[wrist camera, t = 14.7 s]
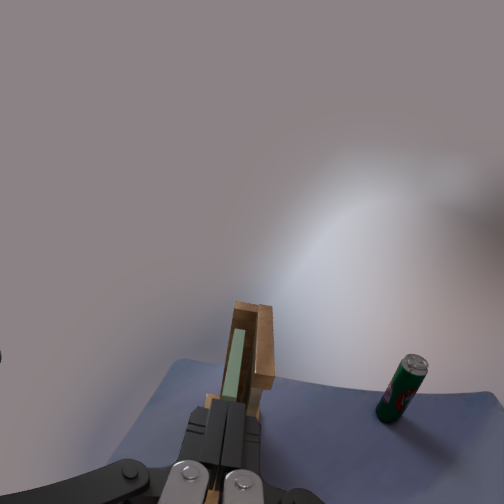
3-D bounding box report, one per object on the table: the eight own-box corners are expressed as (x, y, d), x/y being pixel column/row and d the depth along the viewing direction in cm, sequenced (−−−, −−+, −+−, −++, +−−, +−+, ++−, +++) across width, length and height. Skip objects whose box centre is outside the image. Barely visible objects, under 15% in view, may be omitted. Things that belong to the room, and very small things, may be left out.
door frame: (172, 540, 16) (158, 466, 11) (206, 399, 40) (220, 289, 35) (250, 551, 16) (308, 486, 11) (257, 407, 40) (285, 301, 35)
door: (203, 474, 25) (213, 393, 21) (215, 412, 36) (228, 327, 32) (219, 477, 25) (236, 397, 21) (229, 415, 36) (245, 330, 32)
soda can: (377, 402, 43) (404, 349, 40) (401, 410, 41) (430, 358, 37) (371, 418, 39) (401, 363, 36) (396, 428, 36) (430, 373, 33)
